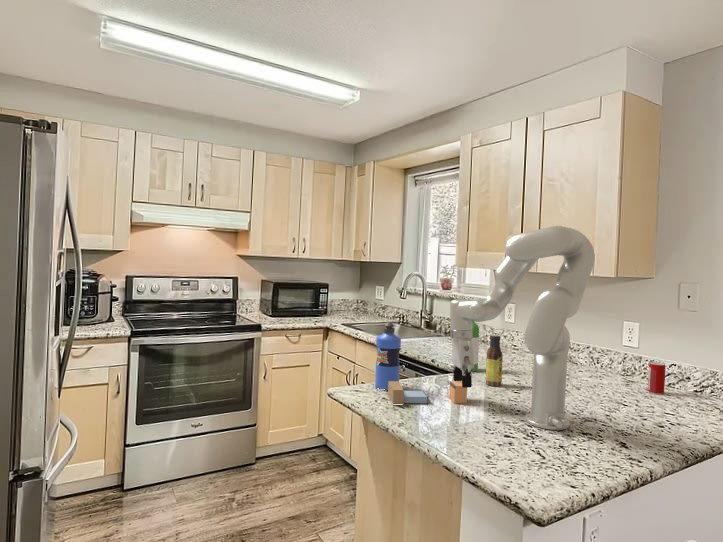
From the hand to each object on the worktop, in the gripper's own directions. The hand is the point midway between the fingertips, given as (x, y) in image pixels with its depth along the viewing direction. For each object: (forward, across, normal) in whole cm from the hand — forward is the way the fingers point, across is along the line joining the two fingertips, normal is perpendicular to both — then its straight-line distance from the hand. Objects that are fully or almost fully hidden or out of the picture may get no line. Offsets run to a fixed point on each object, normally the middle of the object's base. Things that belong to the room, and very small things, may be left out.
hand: (462, 384), depth 159 cm
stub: (+6, +1, +1) cm, 6 cm away
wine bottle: (+5, +46, -18) cm, 50 cm away
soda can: (+10, +12, -82) cm, 83 cm away
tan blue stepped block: (+5, +1, +19) cm, 20 cm away
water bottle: (+5, +17, +24) cm, 30 cm away
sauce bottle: (+6, +22, -20) cm, 31 cm away
